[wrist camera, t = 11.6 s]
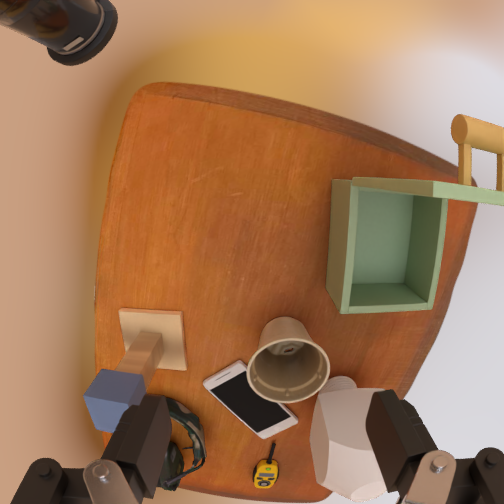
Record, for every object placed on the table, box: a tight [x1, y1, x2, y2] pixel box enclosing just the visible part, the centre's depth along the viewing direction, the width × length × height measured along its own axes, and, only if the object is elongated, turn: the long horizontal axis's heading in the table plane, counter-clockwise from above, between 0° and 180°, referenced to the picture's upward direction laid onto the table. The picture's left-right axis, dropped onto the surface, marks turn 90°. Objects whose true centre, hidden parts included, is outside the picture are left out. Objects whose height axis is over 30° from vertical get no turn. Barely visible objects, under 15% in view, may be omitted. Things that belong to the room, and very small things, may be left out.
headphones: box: [156, 398, 207, 491], centre depth 43 cm, size 13×13×20 cm
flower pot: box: [247, 317, 330, 403], centre depth 37 cm, size 9×9×9 cm
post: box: [114, 308, 188, 390], centre depth 36 cm, size 9×9×12 cm
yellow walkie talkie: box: [253, 443, 279, 488], centre depth 48 cm, size 5×2×15 cm
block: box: [83, 369, 147, 433], centre depth 28 cm, size 5×5×5 cm
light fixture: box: [310, 376, 387, 502], centre depth 34 cm, size 9×9×20 cm
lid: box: [352, 114, 504, 206], centre depth 20 cm, size 15×12×6 cm
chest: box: [325, 179, 448, 314], centre depth 34 cm, size 14×12×8 cm
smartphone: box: [203, 360, 298, 439], centre depth 44 cm, size 7×16×1 cm, turn 37°
